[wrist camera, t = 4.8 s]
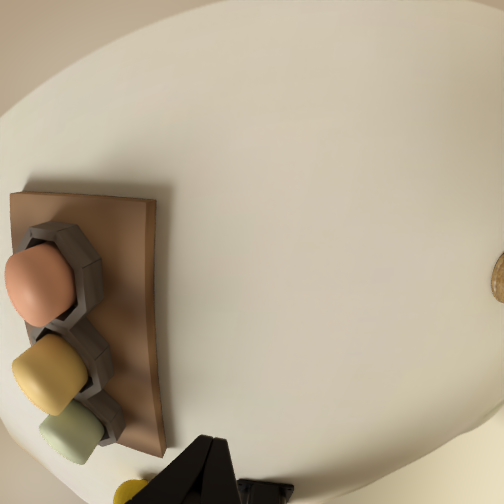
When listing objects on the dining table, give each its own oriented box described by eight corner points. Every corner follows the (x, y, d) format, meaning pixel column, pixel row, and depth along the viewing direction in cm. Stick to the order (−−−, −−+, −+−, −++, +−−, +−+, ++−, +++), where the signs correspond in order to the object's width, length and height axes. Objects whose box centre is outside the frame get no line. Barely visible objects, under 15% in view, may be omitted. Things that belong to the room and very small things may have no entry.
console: (166, 448, 25) (155, 474, 21) (61, 408, 26) (46, 426, 22) (156, 200, 18) (127, 207, 15) (21, 191, 19) (-10, 197, 16)
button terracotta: (89, 310, 19) (57, 336, 15) (44, 296, 19) (12, 316, 15) (84, 243, 17) (45, 260, 14) (37, 235, 18) (0, 248, 14)
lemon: (124, 477, 29) (104, 517, 21) (128, 463, 27) (105, 508, 20) (160, 493, 29) (144, 535, 21) (168, 482, 27) (150, 529, 20)
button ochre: (93, 394, 19) (68, 425, 15) (49, 374, 19) (23, 399, 16) (81, 344, 18) (49, 374, 14) (36, 326, 18) (4, 349, 14)
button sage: (109, 443, 21) (92, 471, 17) (68, 425, 21) (49, 449, 17) (98, 410, 20) (75, 440, 16) (55, 391, 20) (31, 416, 16)
